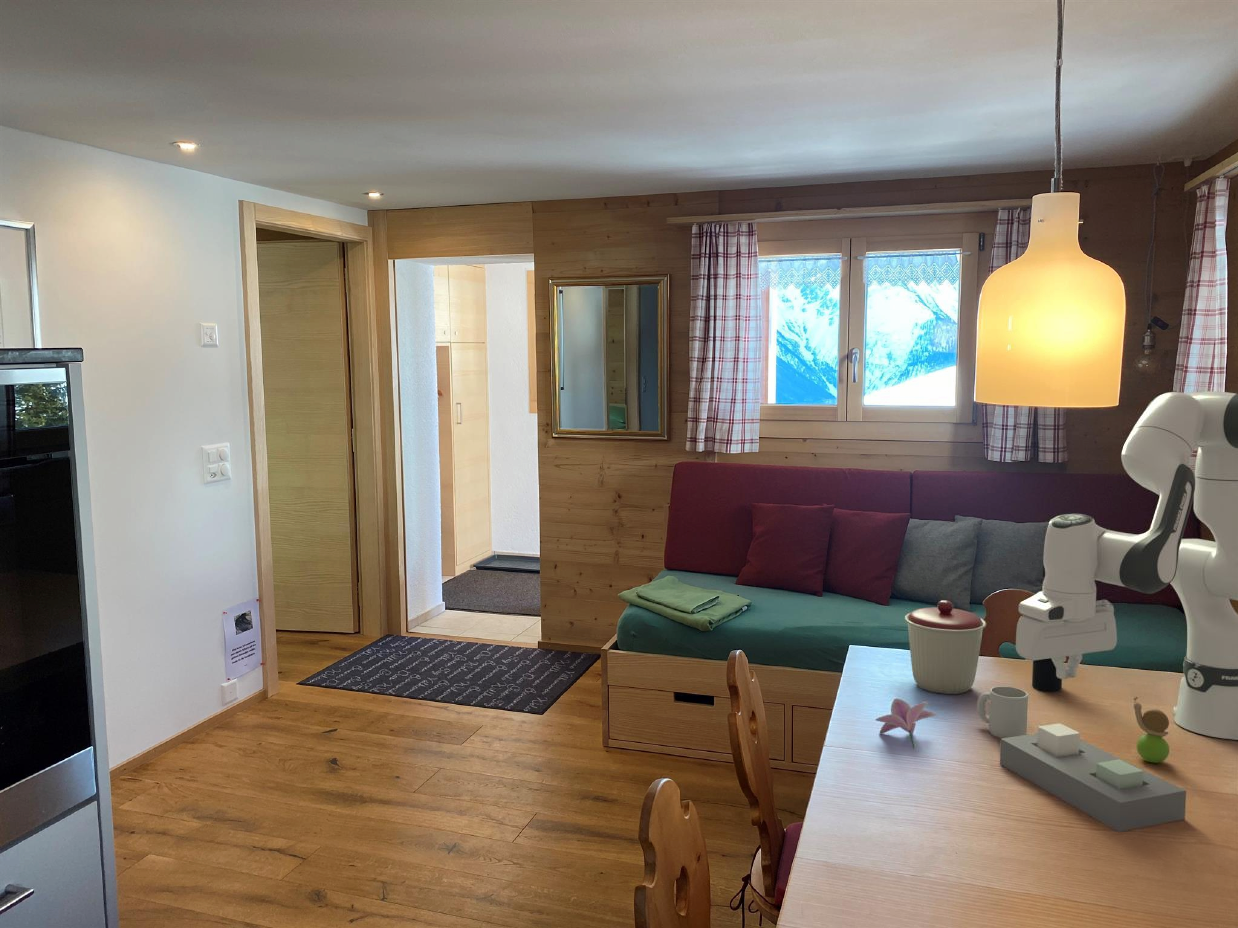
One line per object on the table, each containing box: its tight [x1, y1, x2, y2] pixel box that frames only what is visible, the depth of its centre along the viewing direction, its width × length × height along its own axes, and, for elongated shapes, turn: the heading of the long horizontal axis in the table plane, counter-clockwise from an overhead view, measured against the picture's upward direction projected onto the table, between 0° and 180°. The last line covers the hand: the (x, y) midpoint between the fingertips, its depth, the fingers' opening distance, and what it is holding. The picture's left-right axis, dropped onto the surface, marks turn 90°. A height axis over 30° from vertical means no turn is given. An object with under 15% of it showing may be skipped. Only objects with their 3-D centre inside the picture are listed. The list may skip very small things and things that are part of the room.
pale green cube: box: [1096, 758, 1143, 790], centre depth 160 cm, size 5×5×5 cm
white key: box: [1037, 722, 1081, 757], centre depth 173 cm, size 5×5×5 cm
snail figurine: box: [1133, 696, 1170, 764], centre depth 178 cm, size 5×6×12 cm
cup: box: [976, 685, 1029, 739], centre depth 193 cm, size 7×10×9 cm
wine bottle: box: [1031, 562, 1063, 693], centre depth 219 cm, size 6×6×30 cm
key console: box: [999, 732, 1187, 833], centre depth 167 cm, size 14×28×5 cm, turn 18°
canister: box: [904, 599, 987, 695], centre depth 220 cm, size 18×18×21 cm
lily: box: [875, 698, 937, 749], centre depth 189 cm, size 12×12×10 cm
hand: (1065, 677), depth 171 cm, fingers closed
